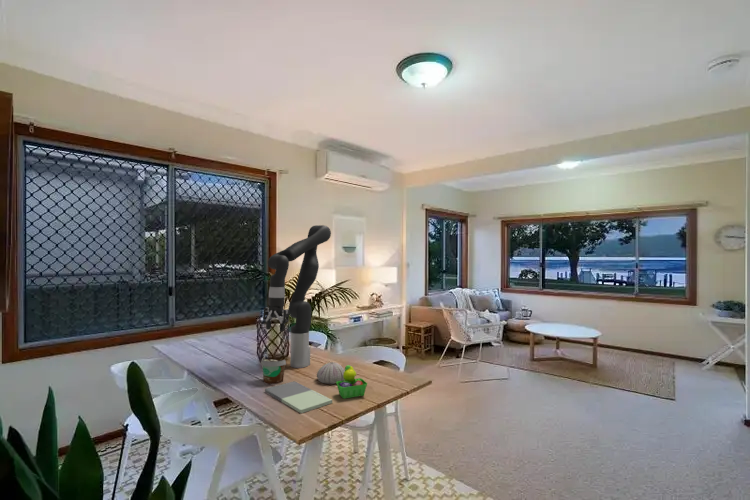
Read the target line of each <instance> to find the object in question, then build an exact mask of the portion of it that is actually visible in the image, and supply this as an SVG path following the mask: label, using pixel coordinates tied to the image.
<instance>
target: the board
mask: <svg viewBox="0 0 750 500" xmlns="http://www.w3.org/2000/svg"><path fill="white" fill-rule="evenodd" d="M264 392H265V393H267V395H270V396H271V397H273V398H275V399H276V400H278V401H279V402H281V403H282V404H285V405H286V406H288V407H290V408H291V409H292V410H294V411H296V412H298V413H300V414H304V413H307V412H309V411H312V410H315V409H319V408H321V407H324V406H327V405H331V404H333V399H331V398H329V397H328V396H326V395H323V394H321V393H319V392H318V391H315V390H313V389H311V388H309V387H307V386H305V385H303V384H301V383H300V382H298V381H295V380H294V381H289V382H286V383H283V384H279V385H275V386H271V387H267V388H264Z"/></svg>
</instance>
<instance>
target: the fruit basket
mask: <svg viewBox="0 0 750 500" xmlns="http://www.w3.org/2000/svg"><path fill="white" fill-rule="evenodd" d="M344 370H345V371H344V374H343V378H344V380H343V381H337V382H336V383H335V384H336V385H337V390H338V394H339V396H340V397H341V398H342V399H348V398H349V399H350V398H355V397H363V395H365V392H366V389H367V386H368V382H366V380H364V379H363V378H361V377H360V378H359V377H358V378H355V377H357V372H356V370H355V369H354V367H353V366H351V365H350V364H349V365H346V366H345V368H344Z"/></svg>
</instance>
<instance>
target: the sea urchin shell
mask: <svg viewBox="0 0 750 500" xmlns="http://www.w3.org/2000/svg"><path fill="white" fill-rule="evenodd" d="M344 371H345V368H344V367H343V366H342V365H341V364H340V363H338V362H333V361H332V362H328V363H326V364H323V365H322V366H321V367H320V368H319V369H318V371H317V372H316V379H317V380H318V382H320V383H322V384H336V382H337V381H343V380H344V378H343V374H344Z"/></svg>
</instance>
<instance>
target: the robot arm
mask: <svg viewBox="0 0 750 500" xmlns="http://www.w3.org/2000/svg"><path fill="white" fill-rule="evenodd" d="M331 235H332V232H331V228H329V227H328V226H327V225H324V224H322V225H321V224H320V225H312V226H311V227H310V228H309V230H308V233H307V237H306V238H304V239H303V238H302V239H301V240H298V241H296V242H294V243H292V244H291V245H289V246H288V247H286V248H285V249H283V250H280V251H279V252H276V253H275V254H273V255H271V256H270V257H269V259H268V260H267V266H268V267H269V268H270V269H271V270H275V271H274V274H272V275H270V278H269V289H268V307H267V306H266V307H263V313H262V320H263V321H265V323H266V324H265V328H266V330H271V329H272V320H273V318H274V319H277V320H279V332H284V331H285V329H286V323H289V321H290V318H293V319H295V324H294V325H292V326H291V327H290V358H289V359H290V360H289V361H290V362H289V364H290V367H291V368H295V369H298V368H299V369H301V368H306V367H308V366H310V365H311V346H310V328H311V324H312V305H311V304H310V303H309V302H308V301H305V298H306V295H307V293H308V291H309V289H311V286H312V285H313V284H314V282H316V279H317V276H318V273H319V269H320V264H319V259H318V255H317V251H318V250H317V249H318V246H319V245H321V244H324V243H326V242H328V241H329V240H330V238H331ZM302 255H303V259H302V262H301V265H300V269H299V273H298V277H297V281H296V284H295V288H294V290H293V294H292V297H291V298H290V301H289V305H288V308H287V309H284V308H285V299H286V296H285V295H286V290H285V289H286V288H285V287H286V286H285V285H286V284H285V283H286V277H287V274H288V271H289V267H290V264H289V263H290V262H293V261H295V260H297V259H298V258H299V257H300V256H302ZM289 316H290V317H289Z"/></svg>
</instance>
